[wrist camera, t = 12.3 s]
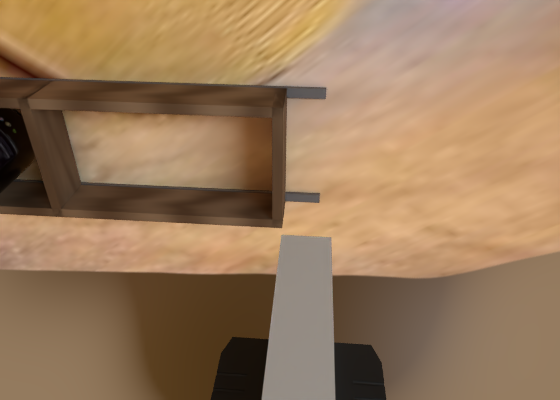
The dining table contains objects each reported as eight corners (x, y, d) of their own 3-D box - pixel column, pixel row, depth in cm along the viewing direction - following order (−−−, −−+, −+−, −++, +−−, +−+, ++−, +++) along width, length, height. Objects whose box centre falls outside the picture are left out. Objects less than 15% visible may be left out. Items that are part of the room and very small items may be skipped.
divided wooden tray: (286, 88, 36) (283, 107, 33) (285, 201, 42) (282, 228, 39) (-72, 76, 38) (-110, 93, 35) (-26, 186, 44) (-55, 210, 40)
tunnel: (329, 39, 34) (333, 130, 21) (317, 233, 44) (314, 379, 31) (-249, 24, 37) (-570, 96, 24) (-139, 209, 47) (-322, 334, 34)
